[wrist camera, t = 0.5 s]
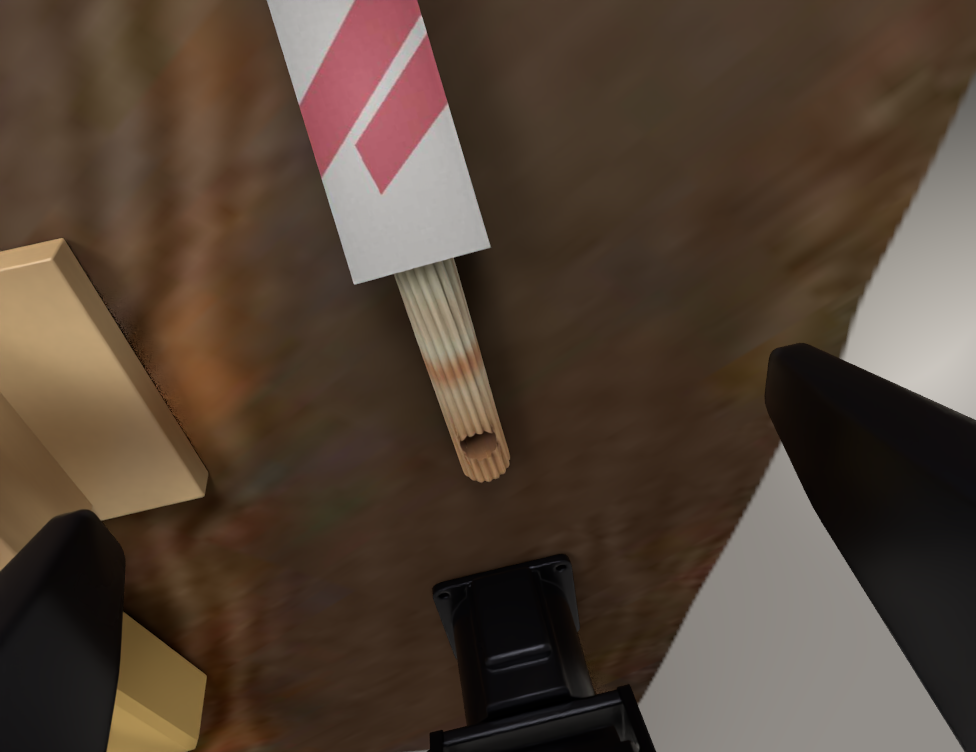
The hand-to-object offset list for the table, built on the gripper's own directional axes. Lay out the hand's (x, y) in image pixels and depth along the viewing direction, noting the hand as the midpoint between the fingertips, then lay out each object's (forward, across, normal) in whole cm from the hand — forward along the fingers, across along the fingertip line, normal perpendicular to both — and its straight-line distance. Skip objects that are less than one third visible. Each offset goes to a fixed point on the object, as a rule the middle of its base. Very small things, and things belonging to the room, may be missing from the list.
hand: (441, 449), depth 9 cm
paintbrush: (+13, 0, +3) cm, 14 cm away
